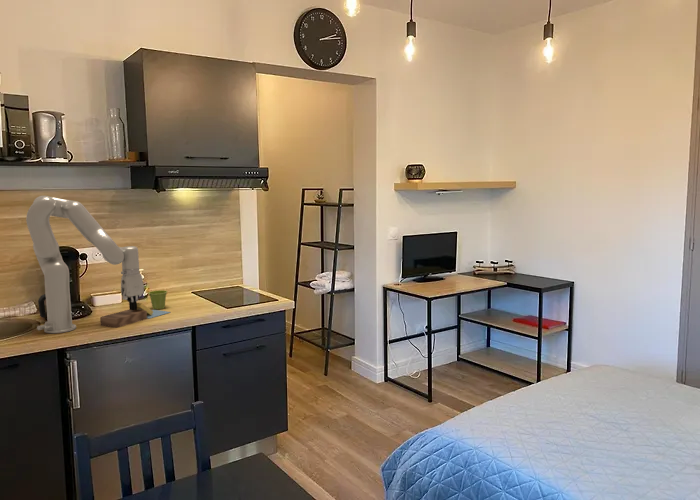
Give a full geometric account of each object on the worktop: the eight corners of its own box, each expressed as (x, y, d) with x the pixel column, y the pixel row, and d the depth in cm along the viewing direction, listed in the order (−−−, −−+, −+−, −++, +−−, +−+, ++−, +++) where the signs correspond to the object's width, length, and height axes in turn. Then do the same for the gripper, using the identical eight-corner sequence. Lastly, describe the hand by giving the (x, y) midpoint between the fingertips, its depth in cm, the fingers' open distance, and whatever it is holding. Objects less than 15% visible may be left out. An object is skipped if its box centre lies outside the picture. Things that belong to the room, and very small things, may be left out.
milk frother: (62, 316, 261) (60, 287, 260) (86, 319, 255) (84, 289, 254) (36, 323, 248) (33, 292, 246) (60, 326, 242) (57, 295, 240)
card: (140, 307, 254) (141, 303, 255) (130, 305, 257) (132, 302, 258) (151, 315, 261) (153, 311, 262) (142, 314, 264) (144, 310, 265)
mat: (149, 318, 256) (149, 318, 256) (131, 316, 261) (131, 315, 261) (170, 312, 268) (170, 312, 268) (153, 310, 274) (153, 309, 273)
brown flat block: (115, 327, 240) (115, 319, 239) (100, 325, 244) (100, 317, 244) (146, 318, 256) (146, 310, 255) (132, 316, 260) (131, 308, 260)
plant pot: (155, 311, 271) (154, 294, 270) (145, 308, 278) (144, 292, 276) (171, 307, 278) (170, 291, 277) (162, 305, 285) (161, 289, 283)
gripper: (123, 275, 244) (126, 314, 246) (148, 270, 257) (151, 307, 259) (112, 274, 247) (114, 312, 249) (137, 269, 260) (140, 305, 262)
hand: (133, 309), depth 254 cm, fingers closed
